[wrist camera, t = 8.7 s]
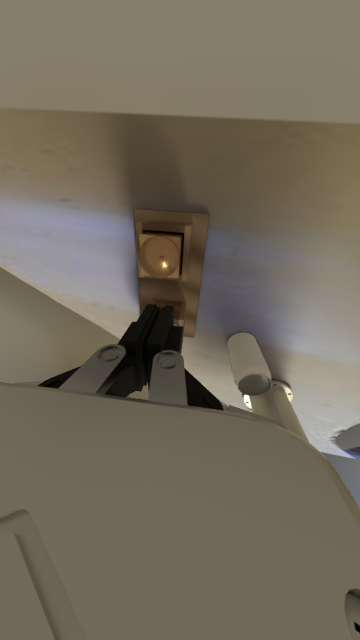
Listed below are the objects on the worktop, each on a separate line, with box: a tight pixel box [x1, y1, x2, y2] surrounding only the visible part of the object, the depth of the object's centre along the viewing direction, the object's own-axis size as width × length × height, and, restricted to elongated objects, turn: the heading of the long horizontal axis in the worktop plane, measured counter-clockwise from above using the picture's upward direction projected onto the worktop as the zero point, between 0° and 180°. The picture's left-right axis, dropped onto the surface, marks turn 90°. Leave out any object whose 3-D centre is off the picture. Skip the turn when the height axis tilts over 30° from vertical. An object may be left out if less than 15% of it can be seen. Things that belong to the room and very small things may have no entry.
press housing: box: [134, 209, 209, 350], centre depth 32 cm, size 24×12×8 cm, turn 177°
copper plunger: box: [139, 230, 185, 278], centre depth 25 cm, size 5×5×8 cm
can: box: [227, 333, 272, 396], centre depth 36 cm, size 6×6×12 cm
